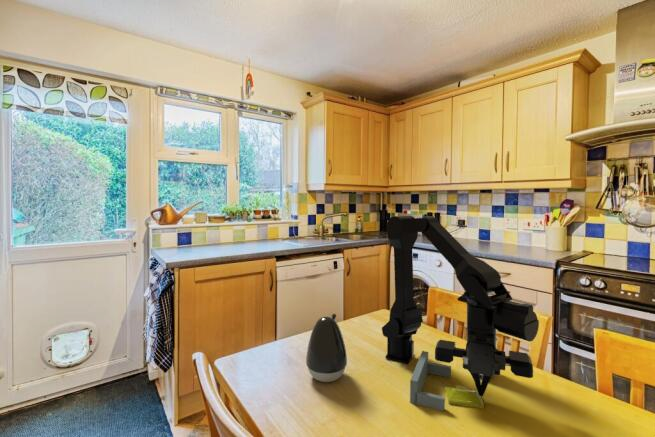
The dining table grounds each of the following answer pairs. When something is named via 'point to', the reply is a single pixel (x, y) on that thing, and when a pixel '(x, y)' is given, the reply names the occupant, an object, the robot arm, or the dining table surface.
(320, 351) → the dark grey egg shape
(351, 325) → the dining table surface
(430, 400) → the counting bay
